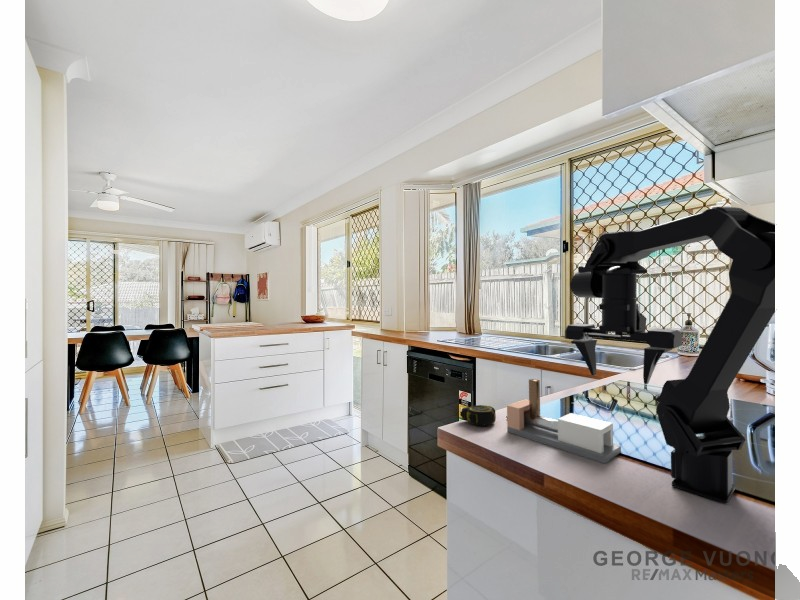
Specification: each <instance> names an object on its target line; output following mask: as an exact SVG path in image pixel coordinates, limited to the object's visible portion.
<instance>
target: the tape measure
mask: <svg viewBox="0 0 800 600" xmlns="http://www.w3.org/2000/svg"><path fill="white" fill-rule="evenodd" d="M459 415H460V417H461V418H462V421H466V422H468V423H469V424H471V425H474V426H483V427H485V426H490V425H493V424H495V422H496V419H497V418H496V417H497V414H496V409H495V408H494V407H493V406H491V405H483V404H482V405H481V404H479V405H477V404H476V405H472V406H466V407H463V408H462V409H461V411H460V414H459Z"/></svg>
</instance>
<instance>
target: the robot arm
mask: <svg viewBox="0 0 800 600" xmlns="http://www.w3.org/2000/svg"><path fill="white" fill-rule="evenodd" d="M775 224H776V223H773V222H771V221H768V220H765V219H763V218H760V217H757V216H756V215H754V214H752V213H750V212H749V211H746V210H745V209H743V208H741V207H735V206H713V207H710V208H707V209H705V210H704V211H701V212H698V213H695V214H692V215H688V216H685V217H681V218H678V219H675V220H671V221H666V222H663V223H661V224H658V225H654V226H650V227H647V228H644V229H640V230H630V231H629V230H628V231H627V230H625V231H613V232H611V231H610V232H605V233H602V234H601V235H600V236H599V237H598V240H597V241H596V243H595V246H594V247H593V249H592V251H591V253H590V255H589V257H588V259H587V260H586V263H585V265H580V266H578V267H577V268H578V269H577V270H578V272H576V273H575V274H574V275H573V276H572V278H571V281H570V282H569V287H570V291H571V293H572V294H573V295H574V296H575V297H577V298H584V299H585V298H587V299H588V298H589V299H591V298H592V299H601V303H600V304H599V307H598V308H599V309H598V310H601V324H599V325H598V326H599V327H598V328H596V327H595V324H588V323H574V324H573V323H572V324H569V325H567V326H566V327H565V330H564V339H565V340H570V343H571V345H572V344H573V345H575V346H576V347H577V349H578V351H579V353H580V354H581V357H582V358H583V360H584V362H585V364H586V366H587V368H588V371H589V373H590V374H591V376H596V375H597V358H596V346H597V342H598V339H607V340H608V339H611V340H620V341H630V342H633V341H634V342H643V343H646V344H647V345H649V346H648V347H645V348H644V351H643V368H642V369H643V370H642V371H643V372H642V373H643V374H642V377H643V378H642V379H643V384H644V385H648V384H649V383H650V381H651V378H652V376H653V373H654V371H655V370H656V369H655V368H656V367H657V364H658V362H659V360H660V359H661V357H662V356H663V354H664V353H668V352H670V351H672V350H674V349H677V348H679V347H681V346H683V335H682V332H680V330H678V329H670V328H653V329H649V330H647V331H646V328H647V321H648V319H647V317H646V316H645V315H644V314H643V313H641V312H640V306H639V303H637V279H638V278H637V275H644V274H647V273H648V270H647V268H645V267H644V266H642V265H641V264H640V263H639V261H641V260H643V259H646V258H648V257H649V256H650V255H651V254H653V253H655V252H658V251H662V250H665V249H666V250H667V249H671V248H675V247H676V248H677V247H681V246H684V245H689V244H695V243H698V242H702V241H708V240H712V243H713V244H714V245H715V246H716V248H717V249H718V250H717V251H720V252H721V253H722V254H723V255H725V256H727V257H728V258H730V259H731V264H730V266H729V271H728V278H729V285H730V291H731V292H730V296H729V298H728V299H727V301H726V304H725V305H724V307H723V309H722V311H721V312H720V314H719V317H718V318H717V321H716V322H715V324H714V326H713V328H712V330H711V331H710V334H709V336H708V337H707V339H706V341H705V343H704V345H703V347H702V349H701V350H700V352H699V354H698V356H697V358H696V360H695V361H694V364H693V366H692V367H691V369H690V371H689V374H687V377H685V378H681V379H670V380H666V381H665V382H664V384H663V385H662V389H661V393H660V394H659V396H657V397H656V398H655V400H654V401H655V402H658V403H657V404H656V407H655V413H656V415H657V417H658V421H659V424H660V428H661V430H662V434H663V438H664V440H665V443H666V445H667V446H669V447H671V448H673V450H671V452H670V476H671V478H672V479H673V480H672V481H671V486H672V487H673V488H677V489H679V490H683V491H686V492H688V493H692V494H696V495H698V496H701V497H703V498H707V499H711V500H713V501H716V502H720V503H723V504H727V503H729V500H730V499H731V498H732V496H733V493H734V492H735V490H736V485H735V484H733V451H741V450H742V448H743V445H744V443H745V441H746V438H745V437H744V436H743V434H742V433H741V432H740V431H739V430H738V429H737V427H736V426H735V424H734V423H733V422H732V421H731V420H730V419H729V418H728V415H729V411H730V407H731V405H730V400H729V395H728V393H729V392H728V391H729V389H730V387H731V386H732V384H733V383H734V380H735V379H736V377H737V376H738V374H739V372H740V371H741V369H742V367H743V366H744V364H745V362H746V361H747V359H748V357H749V356H750V354H751V353H752V351H753V349H754V347H755V346H756V344H757V342H758V341H759V339H760V337H762V334H763V332H764V331H765V329H766V327H767V325H769V322H770V321H771V319H772V318H773V316H774V314H775V313H776V311H775ZM609 332H612V333H609ZM699 434H702V435H699ZM697 435H698V436H697Z"/></svg>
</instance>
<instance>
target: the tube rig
mask: <svg viewBox="0 0 800 600" xmlns="http://www.w3.org/2000/svg"><path fill="white" fill-rule="evenodd" d="M524 412H527V413H529V399H527V398H525V399H522V400H518V401H515V402H513V403H510V404H507V405H506V420H507V423H506V424H507V425H506V427H507V433H511V434H513V435H516V436H519V437H522V438H526V439H528V440H532V441H534V442H537V443H541V444H545V445H546V446H550V447H553V448H556V449H559V450H562V451H565V452H568V453H572V454H575V455H578V456H580V457H584V458H587V459H589V460H593V461H596V462H599V463H602V464H606V463H608V462H609V461H610V460H612V459H614V457H616V456H618V455H619V454H620V453H622V445H620V444H616V443H614V423H613V422H609V421H605V420H601V419H597V418H593V417H589V416H585V415H580V414H576V413H573V412H569V413H568V414H565V415H563V416H561V417H559V418H557V421H558V433H555V432H552V431H549V430H545V429H542V428H538V427H535V426H531V425H528V424H525V423H524Z"/></svg>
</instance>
